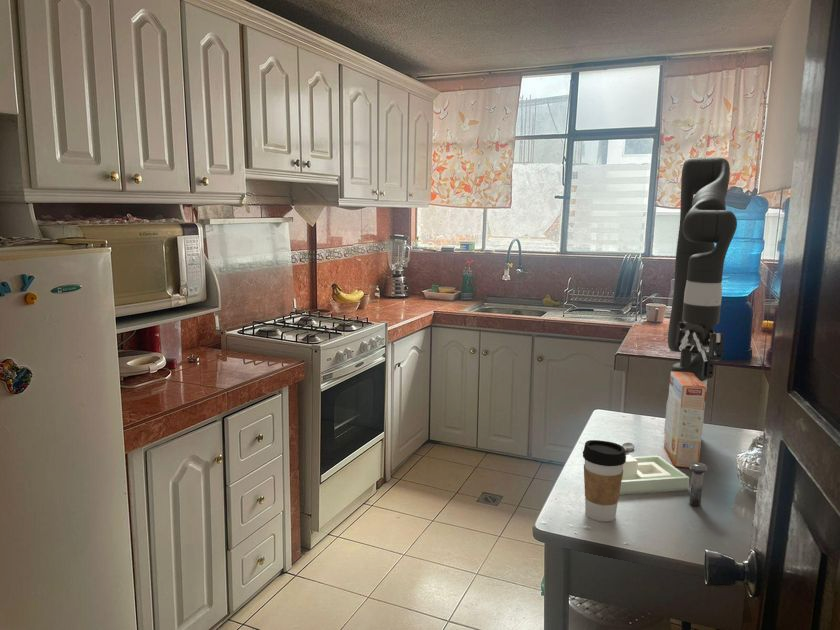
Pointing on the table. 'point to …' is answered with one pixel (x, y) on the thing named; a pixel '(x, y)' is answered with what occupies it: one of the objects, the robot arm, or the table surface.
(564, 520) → the table surface
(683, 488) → the tray
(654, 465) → the cream stepped holder
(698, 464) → the grey bolt
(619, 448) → the coffee cup
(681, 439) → the cracker box
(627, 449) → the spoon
